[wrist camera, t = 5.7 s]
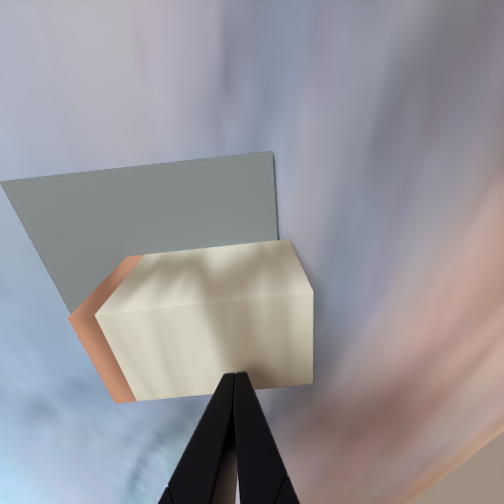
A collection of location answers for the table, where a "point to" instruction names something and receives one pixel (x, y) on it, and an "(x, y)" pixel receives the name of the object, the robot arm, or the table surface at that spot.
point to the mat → (142, 214)
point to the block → (200, 321)
